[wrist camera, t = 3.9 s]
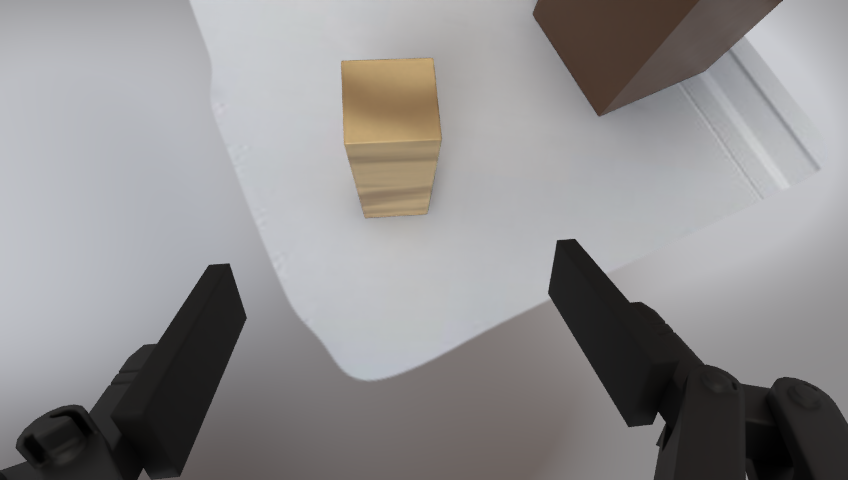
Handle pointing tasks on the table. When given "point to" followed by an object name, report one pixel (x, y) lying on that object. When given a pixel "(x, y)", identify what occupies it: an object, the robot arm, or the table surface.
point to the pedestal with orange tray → (642, 41)
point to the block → (391, 133)
